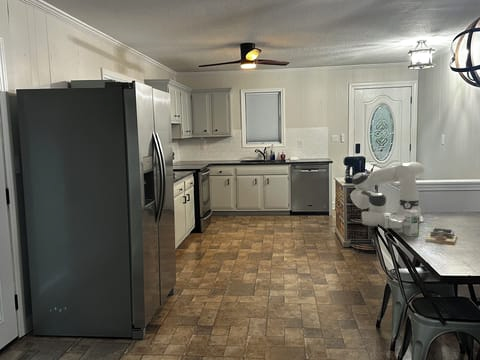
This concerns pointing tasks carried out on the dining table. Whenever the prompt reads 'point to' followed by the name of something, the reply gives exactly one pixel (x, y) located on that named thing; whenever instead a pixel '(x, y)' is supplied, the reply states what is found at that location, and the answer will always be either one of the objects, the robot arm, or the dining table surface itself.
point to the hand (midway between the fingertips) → (413, 222)
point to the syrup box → (414, 218)
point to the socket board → (449, 240)
